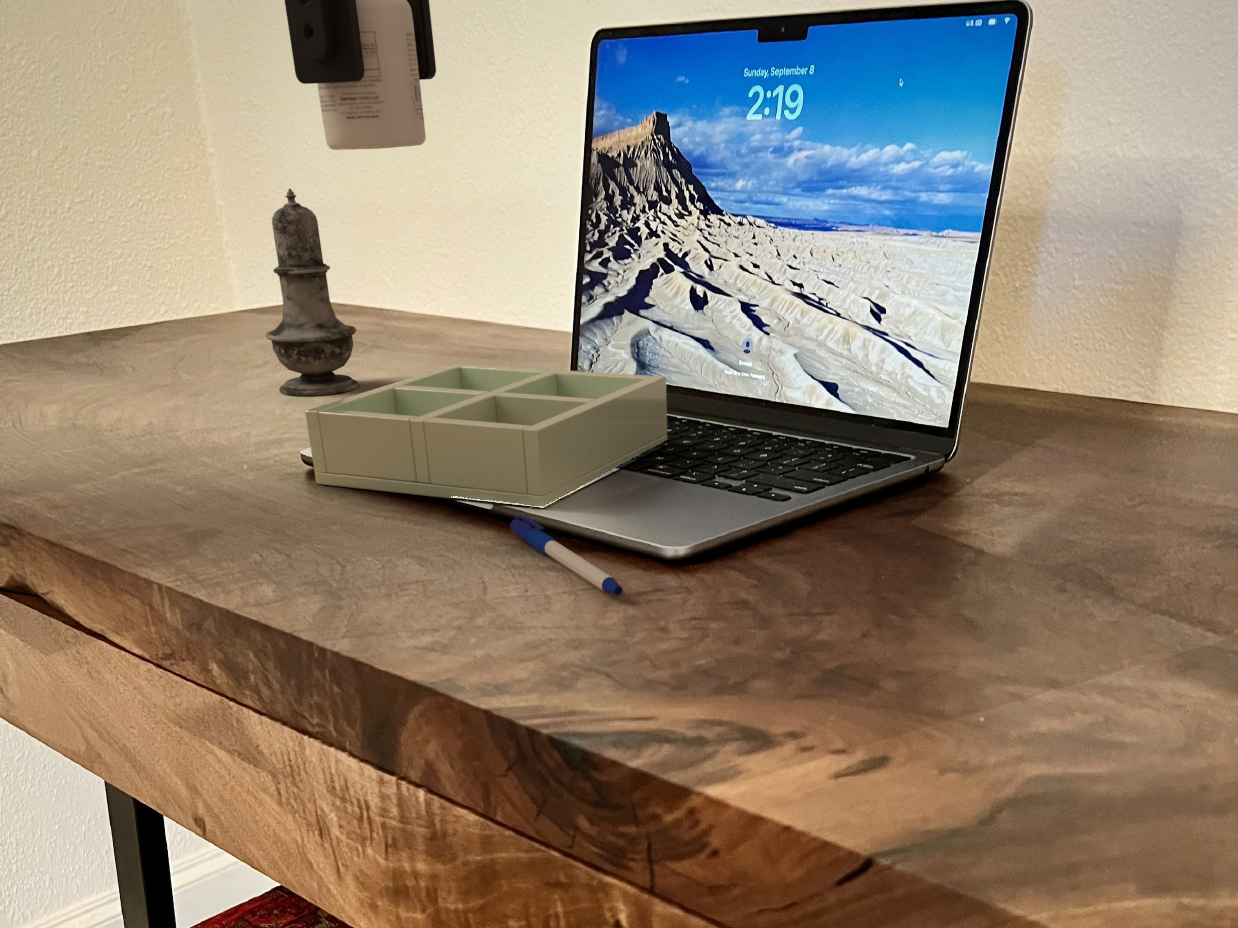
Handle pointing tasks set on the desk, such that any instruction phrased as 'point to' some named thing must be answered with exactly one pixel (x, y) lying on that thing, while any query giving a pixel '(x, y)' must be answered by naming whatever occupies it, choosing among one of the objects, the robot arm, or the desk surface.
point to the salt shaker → (307, 308)
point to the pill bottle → (378, 85)
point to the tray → (488, 432)
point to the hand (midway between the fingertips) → (368, 75)
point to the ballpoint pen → (563, 554)
